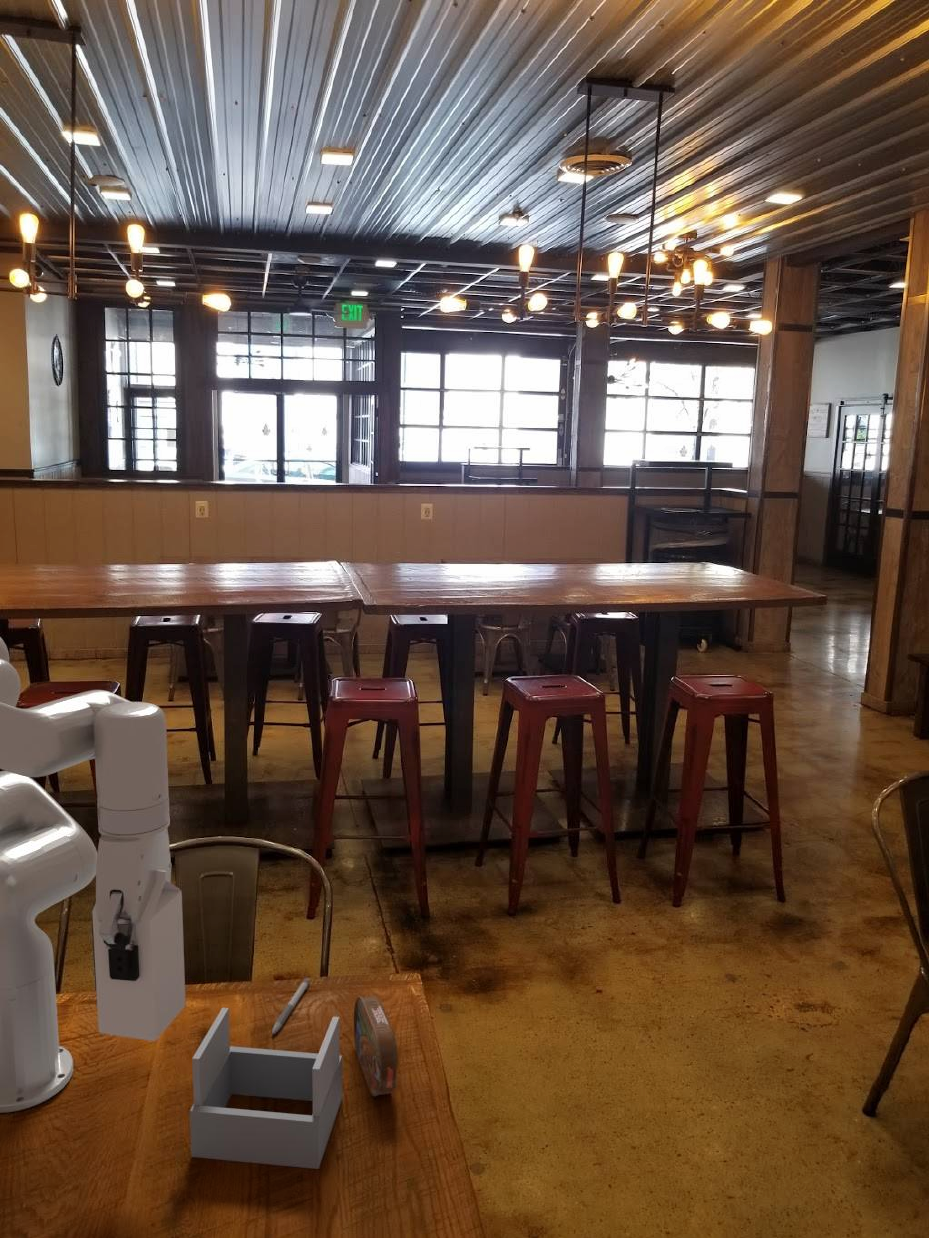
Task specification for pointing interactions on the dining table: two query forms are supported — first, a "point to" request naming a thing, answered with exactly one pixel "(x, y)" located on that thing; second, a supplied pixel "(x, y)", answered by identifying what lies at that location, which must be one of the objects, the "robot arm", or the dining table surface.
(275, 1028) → the pen
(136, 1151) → the dining table surface
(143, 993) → the milk carton
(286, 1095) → the flap box
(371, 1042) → the tin
